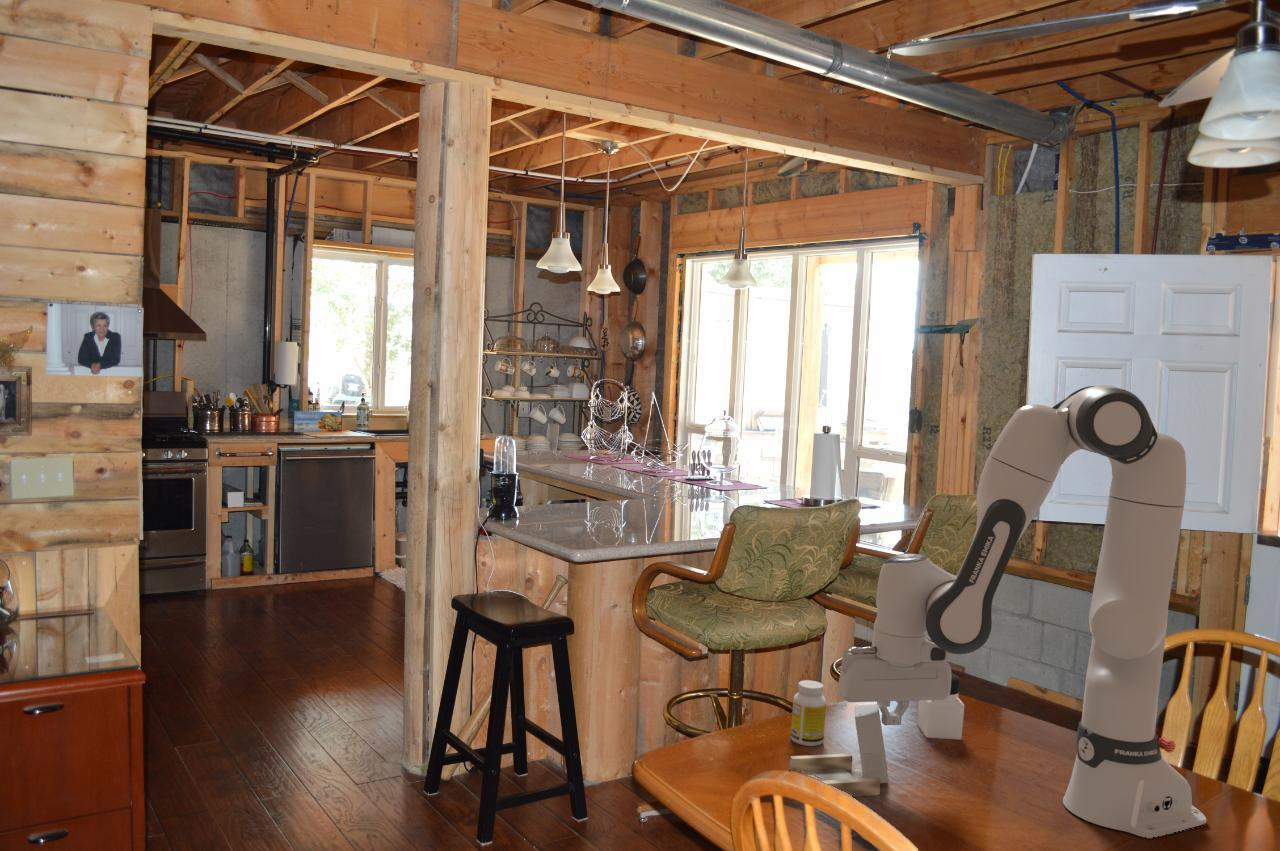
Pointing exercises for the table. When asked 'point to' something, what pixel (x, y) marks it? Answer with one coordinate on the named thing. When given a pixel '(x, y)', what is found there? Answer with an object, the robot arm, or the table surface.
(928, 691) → the robot arm
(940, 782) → the table surface
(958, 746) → the table surface
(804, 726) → the pill bottle
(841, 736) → the table surface
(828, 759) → the rest
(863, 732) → the skincare box
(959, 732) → the medicine bottle
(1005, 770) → the table surface
